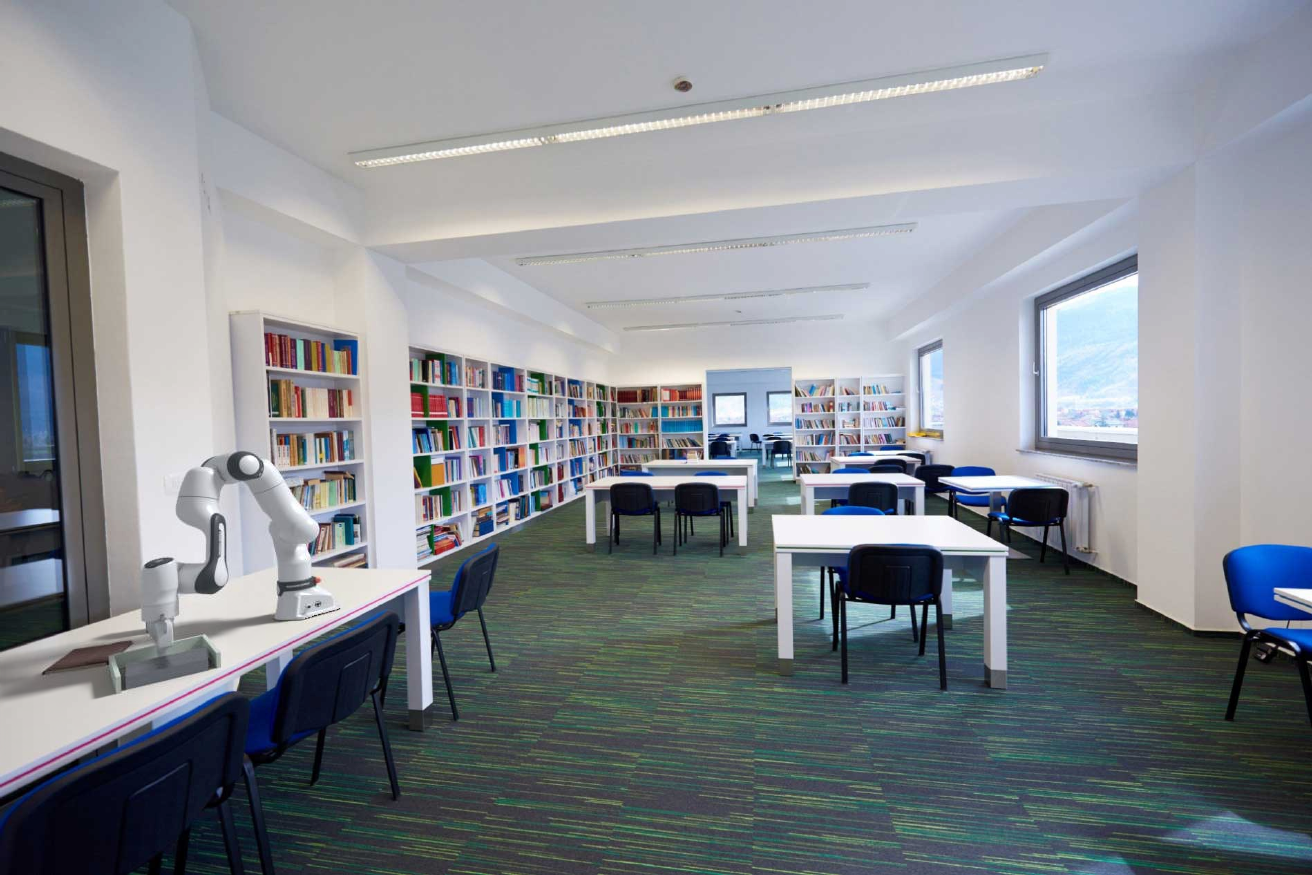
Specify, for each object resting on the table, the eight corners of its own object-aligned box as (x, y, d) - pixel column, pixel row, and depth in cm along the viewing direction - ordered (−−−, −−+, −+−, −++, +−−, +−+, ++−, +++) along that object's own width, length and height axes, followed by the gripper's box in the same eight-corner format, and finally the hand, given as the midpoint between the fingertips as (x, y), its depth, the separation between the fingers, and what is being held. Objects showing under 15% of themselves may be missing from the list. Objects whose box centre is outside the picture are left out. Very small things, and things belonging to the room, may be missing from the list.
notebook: (41, 676, 168) (41, 670, 168) (72, 654, 186) (72, 647, 186) (109, 666, 175) (108, 659, 175) (132, 645, 192) (132, 639, 192)
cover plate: (204, 659, 178) (204, 647, 178) (208, 671, 169) (208, 658, 169) (126, 677, 166) (126, 663, 166) (126, 691, 157) (125, 677, 157)
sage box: (205, 647, 187) (205, 634, 187) (220, 666, 171) (220, 651, 171) (109, 670, 171) (108, 655, 170) (116, 693, 154) (115, 677, 154)
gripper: (179, 616, 170) (180, 661, 170) (168, 603, 184) (170, 645, 184) (151, 621, 166) (152, 668, 166) (142, 607, 179) (144, 651, 179)
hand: (161, 656), depth 175 cm, fingers closed
